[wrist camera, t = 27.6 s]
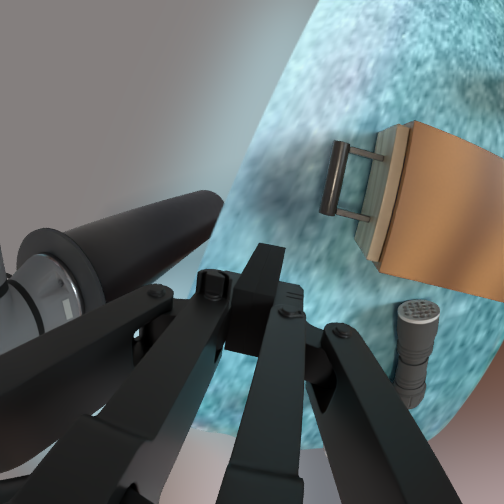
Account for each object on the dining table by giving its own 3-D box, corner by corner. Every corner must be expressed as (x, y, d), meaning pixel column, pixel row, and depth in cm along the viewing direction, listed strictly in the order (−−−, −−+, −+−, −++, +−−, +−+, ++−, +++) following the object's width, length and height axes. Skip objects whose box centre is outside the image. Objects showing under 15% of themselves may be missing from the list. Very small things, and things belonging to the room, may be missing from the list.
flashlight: (418, 386, 38) (427, 409, 33) (386, 392, 39) (392, 416, 34) (431, 297, 34) (446, 316, 29) (393, 302, 35) (404, 323, 30)
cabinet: (361, 244, 34) (378, 272, 25) (386, 131, 30) (414, 120, 21) (471, 273, 32) (507, 303, 23) (497, 174, 28) (542, 180, 19)
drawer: (311, 229, 34) (312, 247, 26) (334, 120, 30) (342, 107, 23) (463, 268, 32) (492, 291, 24) (487, 173, 28) (523, 178, 20)
